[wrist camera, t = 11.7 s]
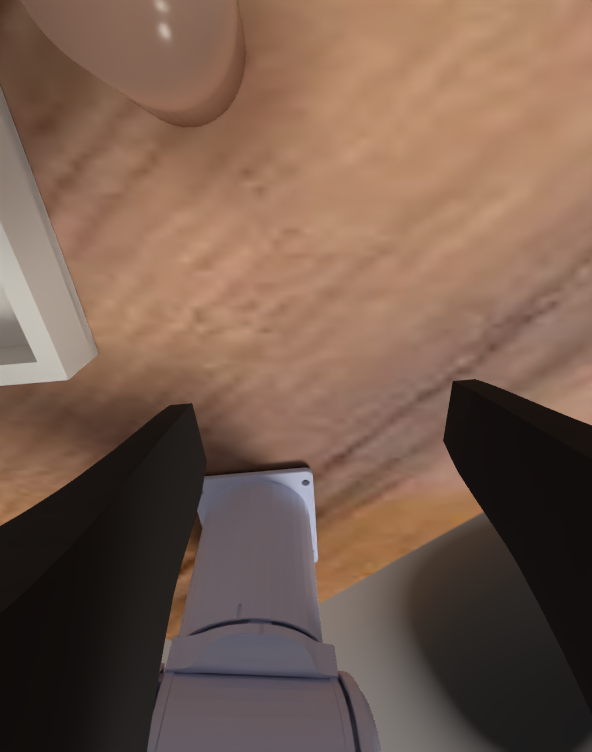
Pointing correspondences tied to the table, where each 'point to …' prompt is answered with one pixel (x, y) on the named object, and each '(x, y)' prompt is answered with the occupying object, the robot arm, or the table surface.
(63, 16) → the beige rounded cylinder
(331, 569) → the table surface
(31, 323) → the off-white tray
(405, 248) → the table surface
